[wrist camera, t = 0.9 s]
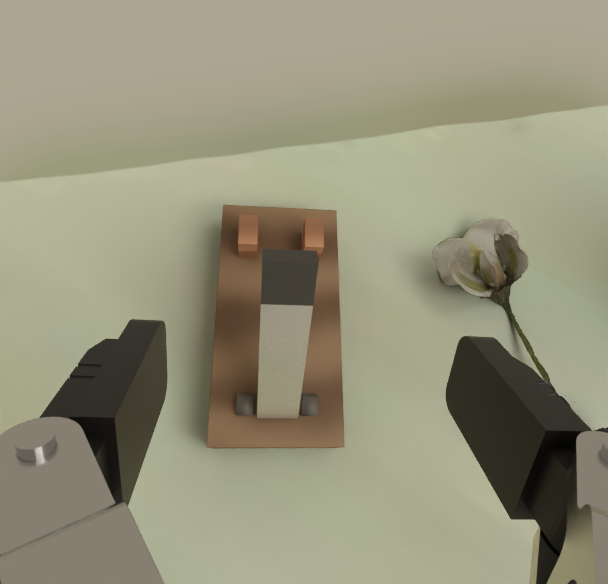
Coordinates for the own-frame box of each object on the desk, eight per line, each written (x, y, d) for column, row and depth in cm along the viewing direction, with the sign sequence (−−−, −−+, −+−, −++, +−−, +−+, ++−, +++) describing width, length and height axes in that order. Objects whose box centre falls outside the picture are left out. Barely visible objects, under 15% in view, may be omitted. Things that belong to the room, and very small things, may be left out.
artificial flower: (513, 478, 38) (548, 477, 29) (420, 260, 48) (425, 209, 39) (616, 449, 38) (684, 440, 29) (501, 234, 47) (525, 177, 38)
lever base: (335, 447, 36) (351, 445, 30) (211, 448, 35) (202, 446, 29) (329, 231, 43) (341, 194, 37) (226, 227, 42) (221, 187, 36)
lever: (297, 404, 33) (298, 418, 32) (257, 404, 33) (256, 418, 32) (316, 250, 24) (318, 263, 24) (262, 248, 24) (262, 261, 23)
